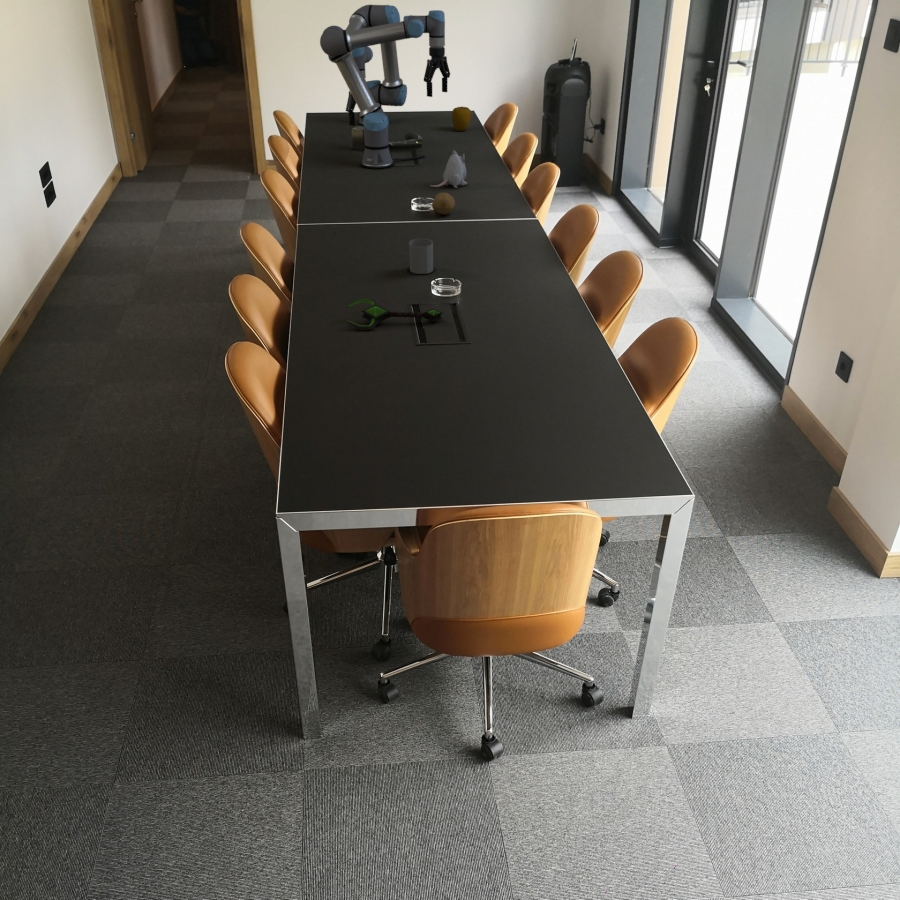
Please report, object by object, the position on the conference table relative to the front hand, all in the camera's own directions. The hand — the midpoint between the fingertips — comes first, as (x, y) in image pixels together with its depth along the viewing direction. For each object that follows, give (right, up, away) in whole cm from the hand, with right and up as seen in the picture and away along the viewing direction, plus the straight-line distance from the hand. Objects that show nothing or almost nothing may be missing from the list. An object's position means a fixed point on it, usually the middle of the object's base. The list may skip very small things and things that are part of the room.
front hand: (437, 94), depth 424 cm
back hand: (-40, -5, +24) cm, 47 cm away
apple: (+13, +7, +67) cm, 68 cm away
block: (-40, -16, +31) cm, 53 cm away
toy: (+5, -55, -30) cm, 63 cm away
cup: (-4, -110, -116) cm, 160 cm away
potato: (+4, -75, -61) cm, 97 cm away
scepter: (-11, -134, -153) cm, 204 cm away
